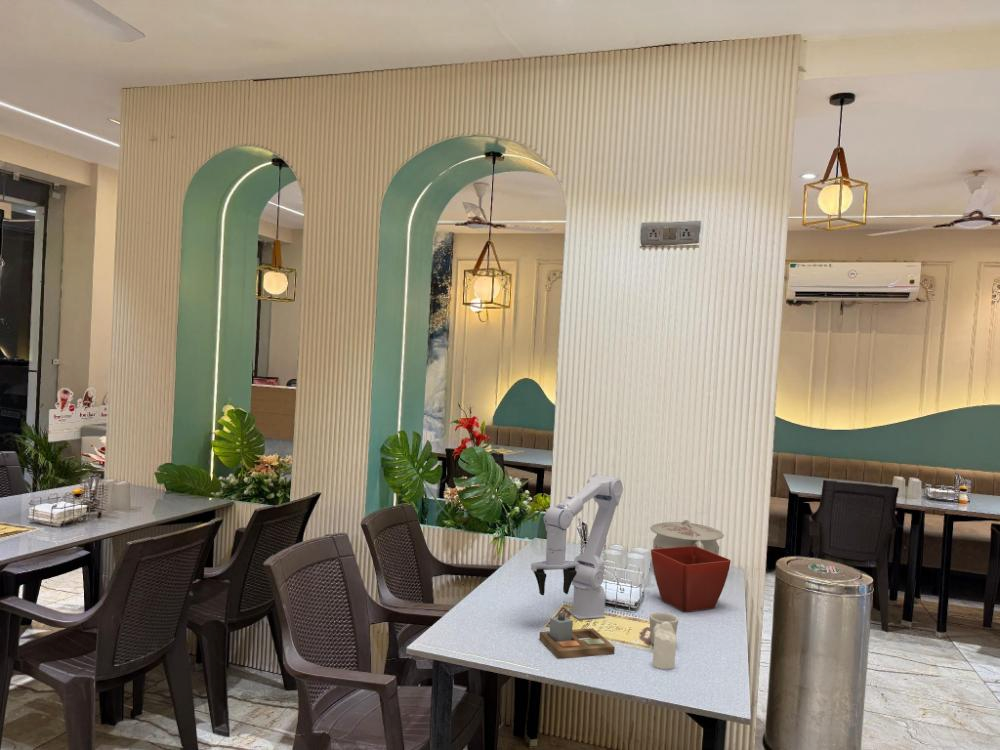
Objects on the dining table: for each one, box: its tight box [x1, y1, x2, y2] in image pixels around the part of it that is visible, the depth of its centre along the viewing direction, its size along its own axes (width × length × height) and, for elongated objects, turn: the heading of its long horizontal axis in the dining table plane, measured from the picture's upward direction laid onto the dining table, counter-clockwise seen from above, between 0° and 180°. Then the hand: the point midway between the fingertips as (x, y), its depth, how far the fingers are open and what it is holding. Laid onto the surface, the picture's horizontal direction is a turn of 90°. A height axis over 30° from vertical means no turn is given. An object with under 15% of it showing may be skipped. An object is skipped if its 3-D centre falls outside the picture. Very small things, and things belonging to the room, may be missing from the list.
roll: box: [652, 621, 677, 670], centre depth 197 cm, size 6×12×6 cm
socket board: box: [539, 628, 616, 660], centre depth 207 cm, size 16×14×2 cm
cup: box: [649, 611, 679, 645], centre depth 210 cm, size 11×8×8 cm
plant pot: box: [650, 546, 732, 613], centre depth 248 cm, size 19×19×17 cm
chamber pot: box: [649, 519, 725, 556], centre depth 285 cm, size 28×28×21 cm
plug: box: [549, 612, 574, 642], centre depth 209 cm, size 4×4×8 cm
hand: (553, 593), depth 222 cm, fingers open, 7 cm apart
